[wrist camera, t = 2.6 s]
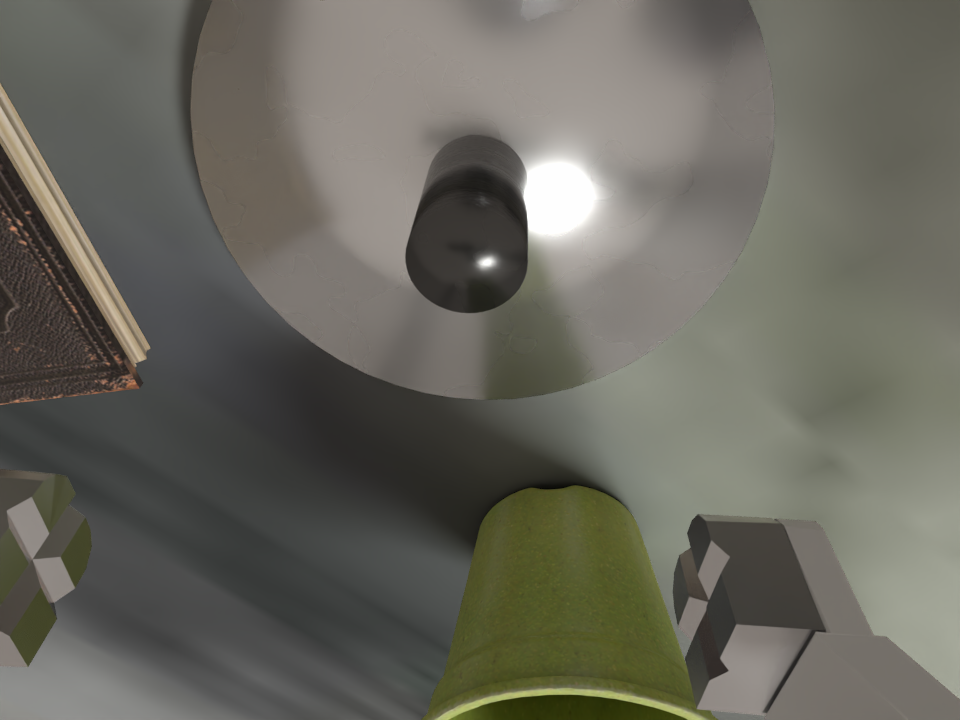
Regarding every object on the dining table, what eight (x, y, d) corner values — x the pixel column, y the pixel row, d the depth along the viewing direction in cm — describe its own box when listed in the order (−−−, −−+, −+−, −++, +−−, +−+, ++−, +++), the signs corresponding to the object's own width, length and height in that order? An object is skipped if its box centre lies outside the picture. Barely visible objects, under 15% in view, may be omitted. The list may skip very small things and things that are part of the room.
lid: (871, -123, 14) (996, -104, 10) (673, 407, 23) (702, 522, 19) (155, -219, 14) (14, -236, 10) (235, 356, 23) (176, 461, 19)
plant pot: (536, 402, 23) (539, 648, 16) (739, 522, 26) (816, 774, 19) (392, 545, 28) (345, 781, 21) (576, 633, 30) (589, 866, 23)
